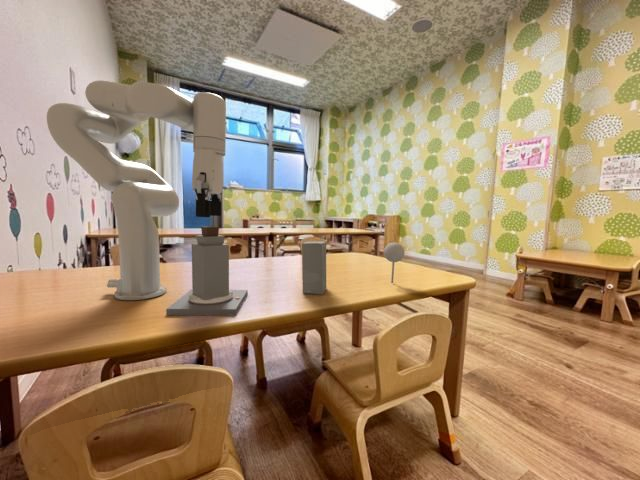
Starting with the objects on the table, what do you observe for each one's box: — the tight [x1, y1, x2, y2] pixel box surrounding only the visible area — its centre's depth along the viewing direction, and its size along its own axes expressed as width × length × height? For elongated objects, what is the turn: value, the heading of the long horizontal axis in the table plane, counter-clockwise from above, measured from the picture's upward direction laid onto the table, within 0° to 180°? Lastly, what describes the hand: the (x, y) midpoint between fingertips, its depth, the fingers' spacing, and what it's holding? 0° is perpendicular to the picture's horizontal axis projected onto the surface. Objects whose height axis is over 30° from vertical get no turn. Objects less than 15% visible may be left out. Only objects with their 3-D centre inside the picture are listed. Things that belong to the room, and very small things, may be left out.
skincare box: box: [301, 240, 327, 296], centre depth 89 cm, size 8×7×16 cm
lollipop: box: [383, 241, 405, 284], centre depth 101 cm, size 7×7×15 cm
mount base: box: [165, 289, 248, 316], centre depth 75 cm, size 16×16×2 cm
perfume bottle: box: [191, 225, 230, 300], centre depth 74 cm, size 7×7×18 cm
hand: (209, 216), depth 72 cm, fingers open, 9 cm apart
